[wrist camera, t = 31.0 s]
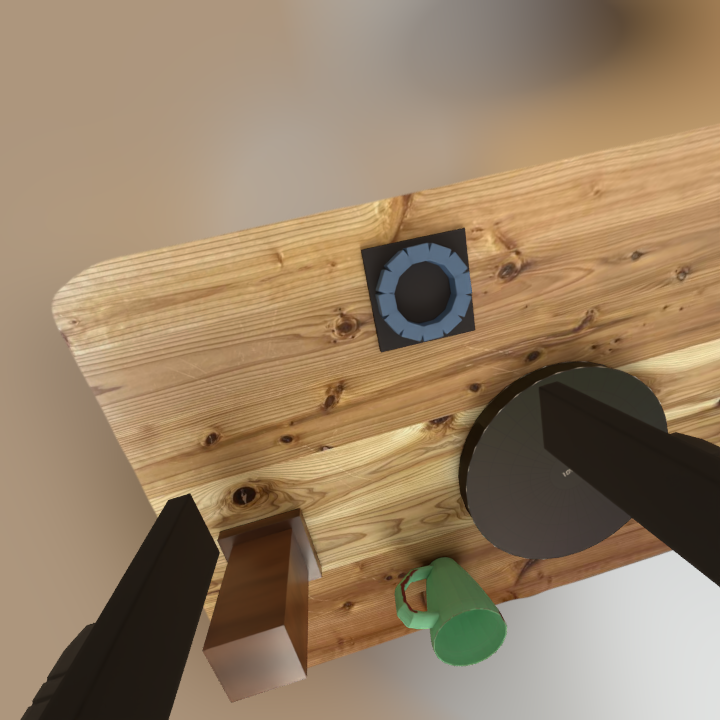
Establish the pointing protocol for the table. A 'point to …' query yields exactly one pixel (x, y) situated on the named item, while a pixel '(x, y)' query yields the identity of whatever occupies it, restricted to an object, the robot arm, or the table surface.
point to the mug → (453, 613)
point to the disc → (543, 466)
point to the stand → (263, 606)
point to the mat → (416, 287)
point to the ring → (455, 304)
